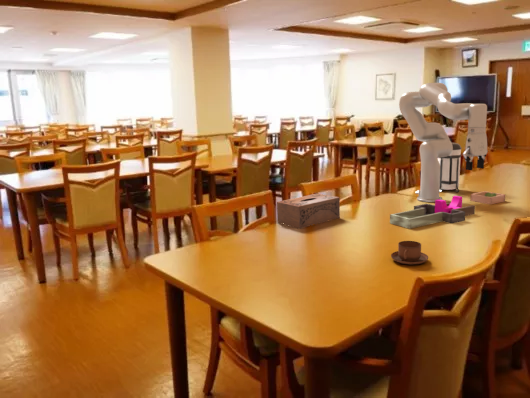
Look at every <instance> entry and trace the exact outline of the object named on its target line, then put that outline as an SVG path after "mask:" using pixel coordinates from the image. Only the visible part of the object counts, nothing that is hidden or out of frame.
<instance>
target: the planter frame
mask: <svg viewBox="0 0 530 398" xmlns="http://www.w3.org/2000/svg"><path fill="white" fill-rule="evenodd" d="M488 192H489V193H491V194H492V193H494V191H493V192H491V191H487V190H486V191H485V190H484V191H479V192H474V193H471V194H470V198H469V199H470V202H475V203H480V204H487V205H493V204H499V203H505V202H506V194H503V193H498V192H495V193H496V196H493V197H487V196H485V194H486V193H488Z"/></svg>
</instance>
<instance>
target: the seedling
mask: <svg viewBox="0 0 530 398" xmlns="http://www.w3.org/2000/svg"><path fill="white" fill-rule="evenodd" d="M487 192H488V193H486V194H485V196H487V197H493V196H496V193H497V192H493V193H492V194H491V193H489V192H490V191H487Z"/></svg>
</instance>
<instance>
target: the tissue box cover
mask: <svg viewBox="0 0 530 398" xmlns="http://www.w3.org/2000/svg"><path fill="white" fill-rule="evenodd" d="M340 201H341V200H340V196H333V195H328V194H321V193H314V194H308V195H304V196H298V197H293V198H289V199H284V200H279V201H276V217H277V218H276V219H277V220H276V221H277V224H280V223H284V224H286V225H285V226H288V225H289V226H288V227H292V228H295V229H304V228H307V227H311V226H314V225H313V224H315V225H318V224H321V222H322V223H326V222H329V221H328V220H330V221H333V220H332V219H334V220H337V219H340V215H341V214H340V211H341V210H340V207H341V206H340V204H341V203H340ZM336 218H337V219H336ZM325 221H326V222H325ZM317 223H318V224H317ZM284 224H283V225H284ZM310 225H311V226H310Z"/></svg>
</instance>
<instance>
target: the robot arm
mask: <svg viewBox="0 0 530 398" xmlns="http://www.w3.org/2000/svg"><path fill="white" fill-rule="evenodd" d="M432 105H433V106H435V107H437V110H438V112H439V114H440V115H442V116H444V117H445V118H447V119H449V120H453V121H462V120H463V121H465V120H468V124H467V136H466V141H465V150H464V151H463V153H462V155H463V158H464V160H465V170H466V171H473V167H474V165H473V163H474V162H473V159H474V157H477V158H478V159H477V164H476V168H477V169H481V170H482V169H484V168H485V167H484V166H485V160H486V156H487V154H488V152H489V151H488V137H487V133H486V132H487V117H488V116H487V115H488V114H487V113H488V105H487V104H486V103H472V102H471V103H470V102H469V103H468V102H466V103H464V102H463V103H454V102H452V95H451V92H450V91H448V87H447V85H446V84H445V83H442V82H427V83H424V84H423V85H421V87H420V88H419V91H407V92H404V93H403V94H402V95H401V96H400V98H399V103H398V106H399V107H398V108H399V111H400V113H401V115H402V117H403V118H404V119H405V121H406V123H407V124H408V126H409V128H410V130H411V132H412V133H413V134H412V135H414V137H415V139H416V140H417V141H418V142H422V143H421V144H420V146H419V155H420V156H419V157H420V188H419V189H417V190H416V191H415V194H416V195H418V196H417V197H416V199H417V201H419V202H424V203H425V202H426V203H435V200H438V199H440V200H443V197H441V196H440V192H439V189H440V164H439V161H438V158H439V157H446V156H449V155H450V154H451V153H452V150H453V146H452V143H453V142H452V141H450V139H449V138H450V137H449V135H448V134H447V132H446V131H445V128H444V127H443V125H441V124H440V123H438V122H428V121H427V120H426V118H425V116H424V115H423V113H421V112H420V111H419V110H417V109H418V108H428V107H431V106H432Z"/></svg>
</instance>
